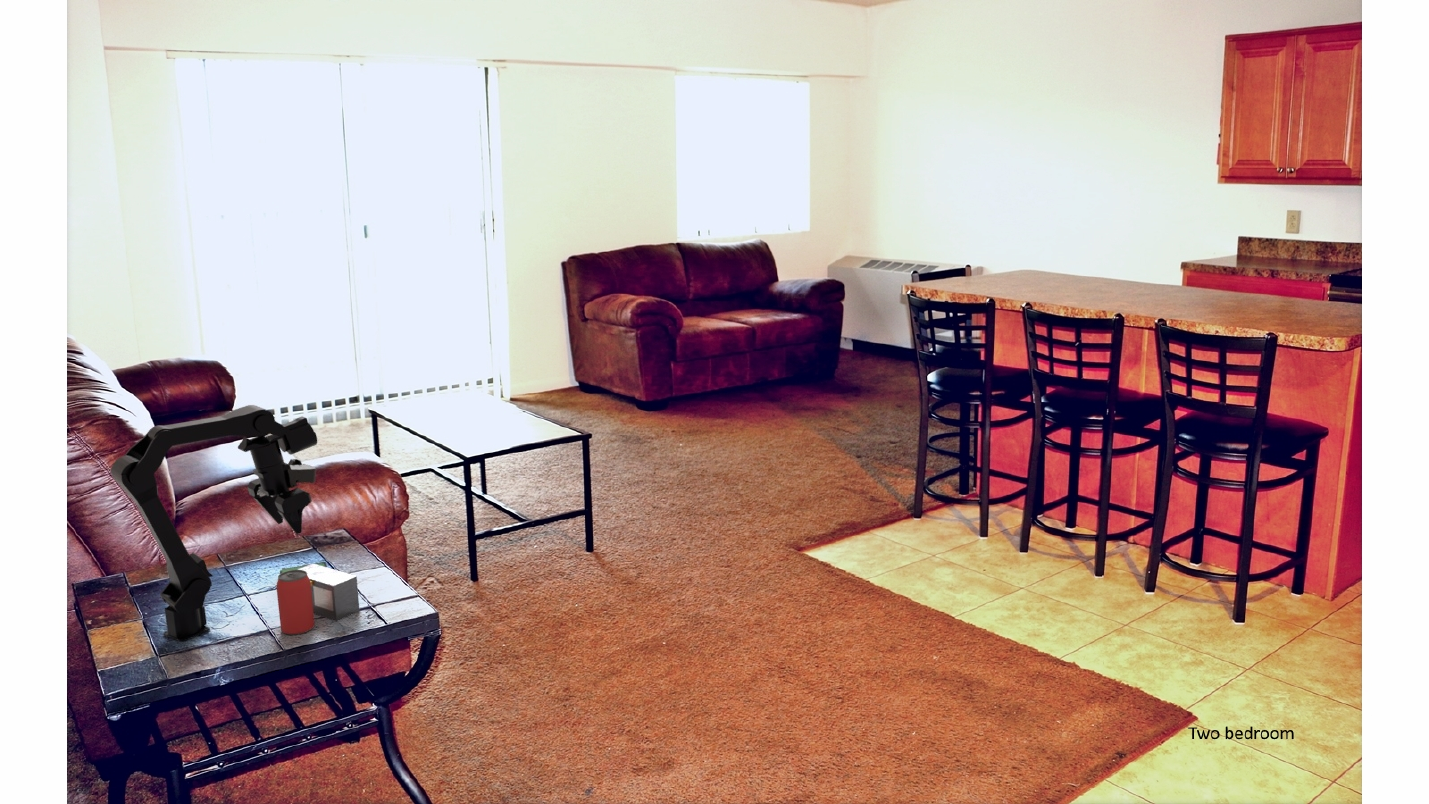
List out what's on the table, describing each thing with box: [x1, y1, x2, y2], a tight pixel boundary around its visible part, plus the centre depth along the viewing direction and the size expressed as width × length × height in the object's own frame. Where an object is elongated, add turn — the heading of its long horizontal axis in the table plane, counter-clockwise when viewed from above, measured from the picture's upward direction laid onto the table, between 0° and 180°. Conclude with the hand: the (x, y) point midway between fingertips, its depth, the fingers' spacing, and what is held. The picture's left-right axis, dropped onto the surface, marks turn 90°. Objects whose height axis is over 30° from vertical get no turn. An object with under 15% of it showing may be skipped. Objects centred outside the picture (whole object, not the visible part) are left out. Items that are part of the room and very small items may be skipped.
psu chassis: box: [298, 563, 361, 622], centre depth 228 cm, size 6×14×8 cm, turn 58°
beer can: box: [275, 570, 316, 636], centre depth 219 cm, size 7×7×12 cm
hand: (289, 528), depth 230 cm, fingers open, 9 cm apart
